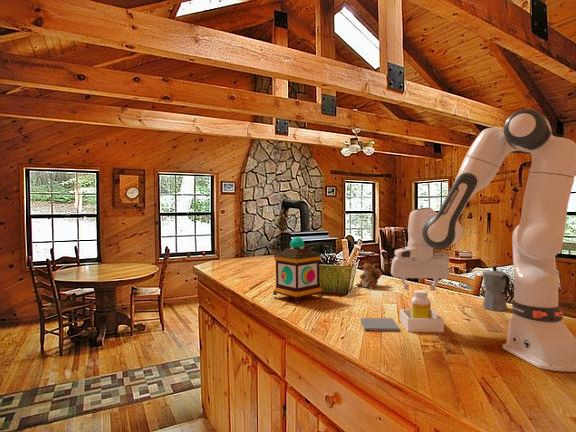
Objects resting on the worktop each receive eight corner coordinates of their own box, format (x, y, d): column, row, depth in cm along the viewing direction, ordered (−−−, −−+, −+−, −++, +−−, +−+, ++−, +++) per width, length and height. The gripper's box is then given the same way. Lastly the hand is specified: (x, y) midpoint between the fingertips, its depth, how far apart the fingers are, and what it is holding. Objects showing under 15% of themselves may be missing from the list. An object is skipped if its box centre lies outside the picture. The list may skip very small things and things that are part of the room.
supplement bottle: (432, 329, 130) (432, 293, 130) (412, 328, 131) (412, 293, 131) (428, 323, 136) (428, 289, 136) (410, 323, 138) (410, 289, 138)
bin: (443, 332, 127) (443, 319, 127) (408, 331, 128) (408, 318, 128) (432, 321, 139) (432, 309, 139) (400, 320, 140) (399, 309, 140)
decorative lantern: (269, 297, 179) (268, 236, 178) (298, 291, 192) (298, 234, 192) (297, 305, 164) (296, 239, 164) (326, 298, 177) (326, 236, 177)
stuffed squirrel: (354, 287, 201) (354, 263, 201) (369, 283, 211) (369, 260, 210) (369, 290, 194) (369, 265, 193) (384, 286, 203) (384, 262, 203)
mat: (399, 331, 129) (399, 328, 128) (365, 330, 129) (365, 328, 129) (392, 320, 140) (392, 318, 140) (360, 320, 141) (360, 318, 141)
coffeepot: (474, 304, 162) (474, 264, 162) (494, 304, 163) (494, 263, 163) (498, 314, 147) (498, 270, 146) (520, 313, 148) (520, 269, 147)
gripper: (446, 251, 136) (445, 288, 136) (390, 250, 137) (389, 287, 138) (452, 254, 130) (451, 292, 130) (393, 252, 131) (393, 291, 132)
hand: (419, 289), depth 134 cm, fingers open, 8 cm apart
